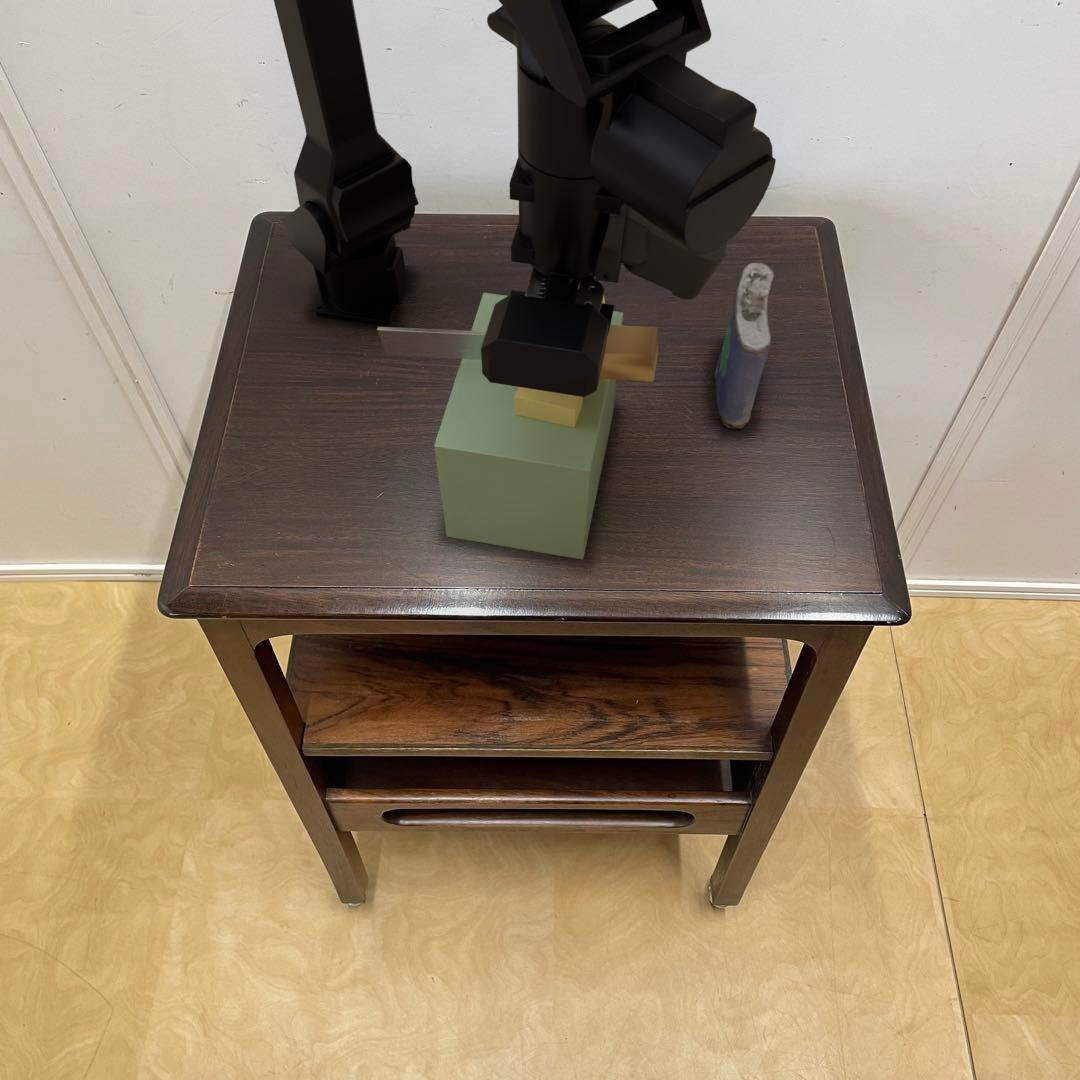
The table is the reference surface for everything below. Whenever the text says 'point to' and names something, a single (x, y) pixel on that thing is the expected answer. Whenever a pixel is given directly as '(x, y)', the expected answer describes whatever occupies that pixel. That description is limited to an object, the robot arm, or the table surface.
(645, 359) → the knife
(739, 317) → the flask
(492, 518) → the stand
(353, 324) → the table surface
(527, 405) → the butter pat
